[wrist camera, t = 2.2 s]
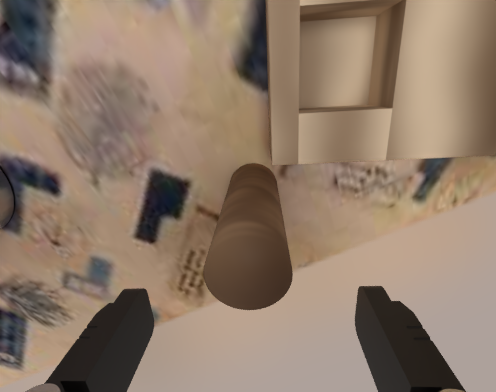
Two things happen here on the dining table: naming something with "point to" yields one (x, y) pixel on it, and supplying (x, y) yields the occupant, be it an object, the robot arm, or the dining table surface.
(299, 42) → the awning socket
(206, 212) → the dining table surface
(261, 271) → the peg
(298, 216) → the dining table surface
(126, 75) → the dining table surface
